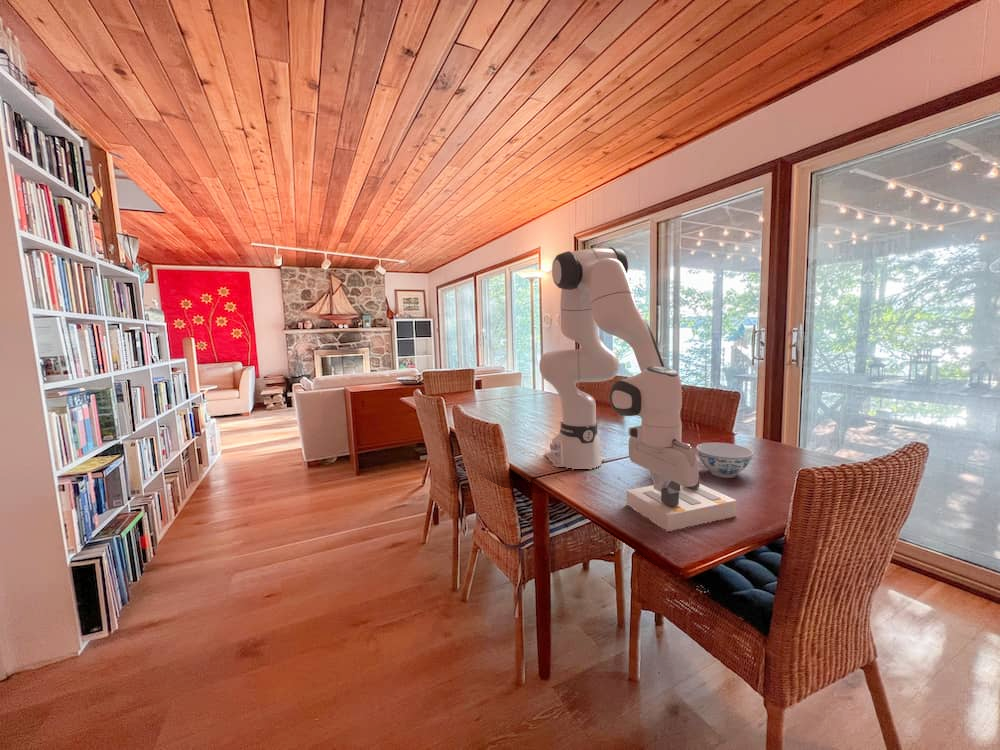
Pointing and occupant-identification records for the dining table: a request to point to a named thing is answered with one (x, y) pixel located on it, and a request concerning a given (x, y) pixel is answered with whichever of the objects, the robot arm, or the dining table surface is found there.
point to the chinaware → (724, 458)
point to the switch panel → (682, 506)
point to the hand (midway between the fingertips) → (660, 490)
